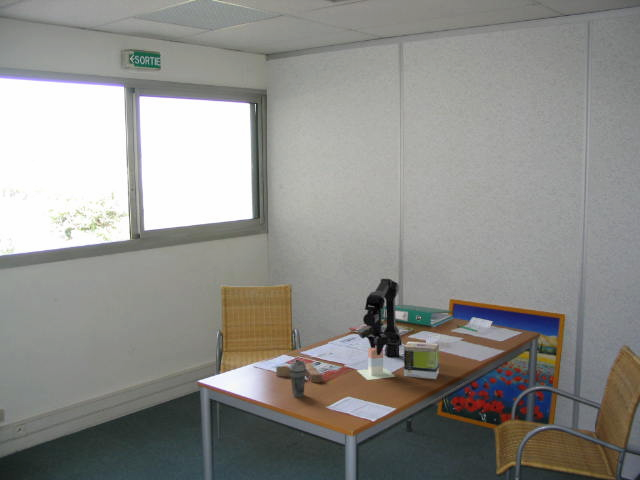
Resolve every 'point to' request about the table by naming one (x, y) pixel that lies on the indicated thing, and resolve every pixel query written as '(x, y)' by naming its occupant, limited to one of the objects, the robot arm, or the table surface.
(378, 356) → the brick rust
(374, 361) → the brick blue
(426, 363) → the tea box
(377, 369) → the brick cream
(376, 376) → the baseplate
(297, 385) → the beverage cup
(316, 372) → the wooden block set
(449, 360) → the table surface
